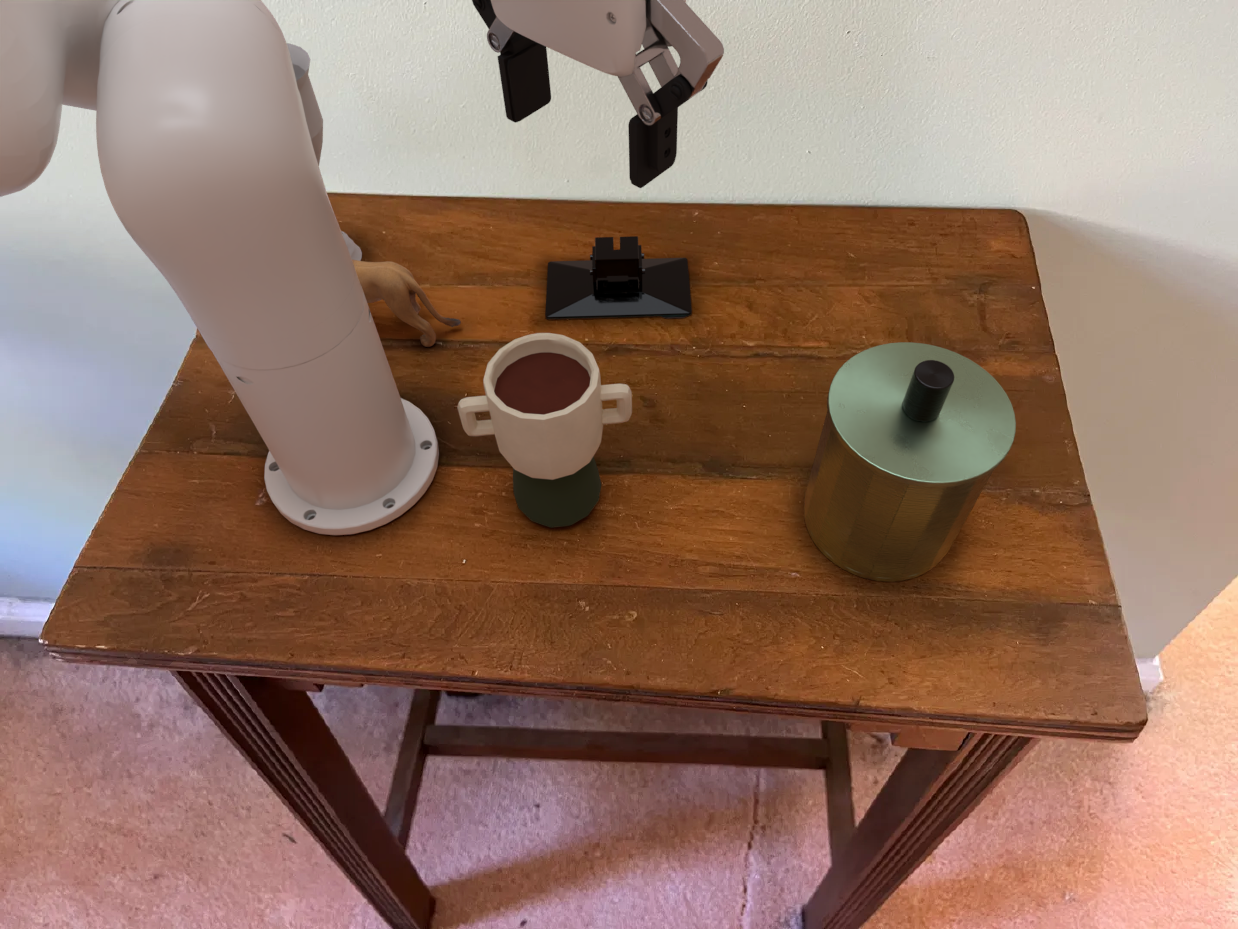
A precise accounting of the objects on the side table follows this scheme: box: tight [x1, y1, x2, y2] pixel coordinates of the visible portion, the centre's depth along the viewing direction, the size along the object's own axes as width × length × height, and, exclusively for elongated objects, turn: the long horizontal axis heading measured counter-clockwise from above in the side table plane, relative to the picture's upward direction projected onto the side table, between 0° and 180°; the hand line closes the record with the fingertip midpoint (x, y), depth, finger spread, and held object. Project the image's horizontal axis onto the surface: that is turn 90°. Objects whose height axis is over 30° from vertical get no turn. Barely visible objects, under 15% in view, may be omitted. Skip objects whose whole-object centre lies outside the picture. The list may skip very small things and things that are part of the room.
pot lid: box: [826, 341, 1017, 487], centre depth 50 cm, size 11×11×4 cm
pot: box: [803, 409, 994, 583], centre depth 56 cm, size 10×10×12 cm
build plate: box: [544, 235, 693, 321], centre depth 73 cm, size 12×7×5 cm, turn 91°
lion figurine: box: [352, 260, 462, 348], centre depth 70 cm, size 15×5×9 cm, turn 88°
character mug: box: [456, 332, 633, 529], centre depth 57 cm, size 11×7×13 cm, turn 96°
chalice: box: [286, 42, 363, 261], centre depth 71 cm, size 7×7×18 cm
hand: (588, 141), depth 50 cm, fingers open, 9 cm apart
